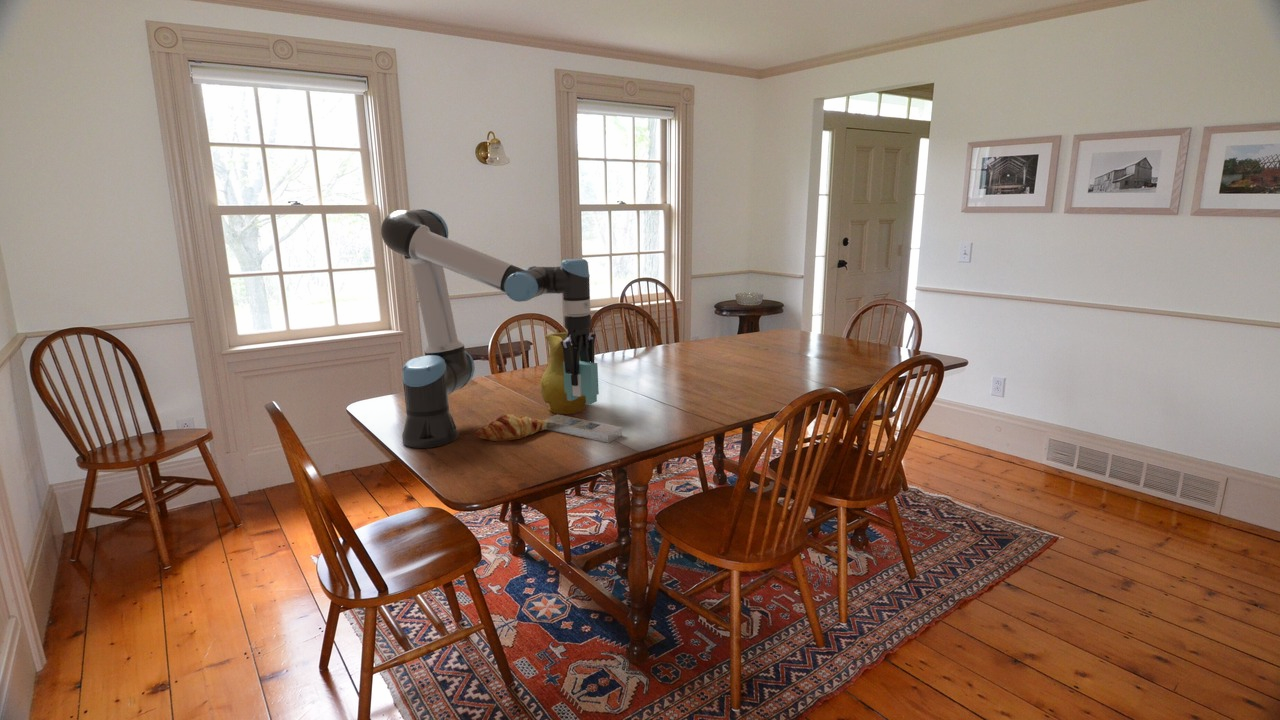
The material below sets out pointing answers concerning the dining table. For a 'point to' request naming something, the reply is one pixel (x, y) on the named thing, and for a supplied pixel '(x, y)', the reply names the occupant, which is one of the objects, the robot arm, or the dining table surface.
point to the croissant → (510, 428)
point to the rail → (583, 428)
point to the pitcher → (558, 380)
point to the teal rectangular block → (584, 382)
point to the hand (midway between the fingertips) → (581, 394)
